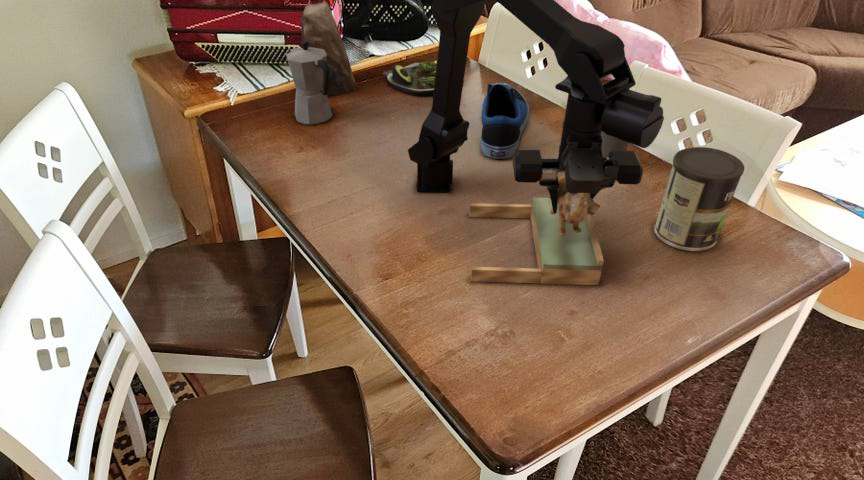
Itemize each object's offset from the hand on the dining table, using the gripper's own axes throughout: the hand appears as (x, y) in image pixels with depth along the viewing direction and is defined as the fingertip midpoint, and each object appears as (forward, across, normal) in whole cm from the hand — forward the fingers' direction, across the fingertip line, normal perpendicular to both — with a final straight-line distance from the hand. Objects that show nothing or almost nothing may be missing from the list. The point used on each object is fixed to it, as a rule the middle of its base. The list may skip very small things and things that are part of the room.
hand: (567, 211), depth 101 cm
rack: (+7, -5, 0) cm, 9 cm away
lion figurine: (+2, 0, 0) cm, 2 cm away
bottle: (+8, +13, +28) cm, 32 cm away
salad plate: (+8, -27, +70) cm, 75 cm away
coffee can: (+8, +22, +5) cm, 23 cm away
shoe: (+8, -7, +44) cm, 45 cm away
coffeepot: (+8, -51, +49) cm, 71 cm away
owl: (+8, -50, +66) cm, 83 cm away
